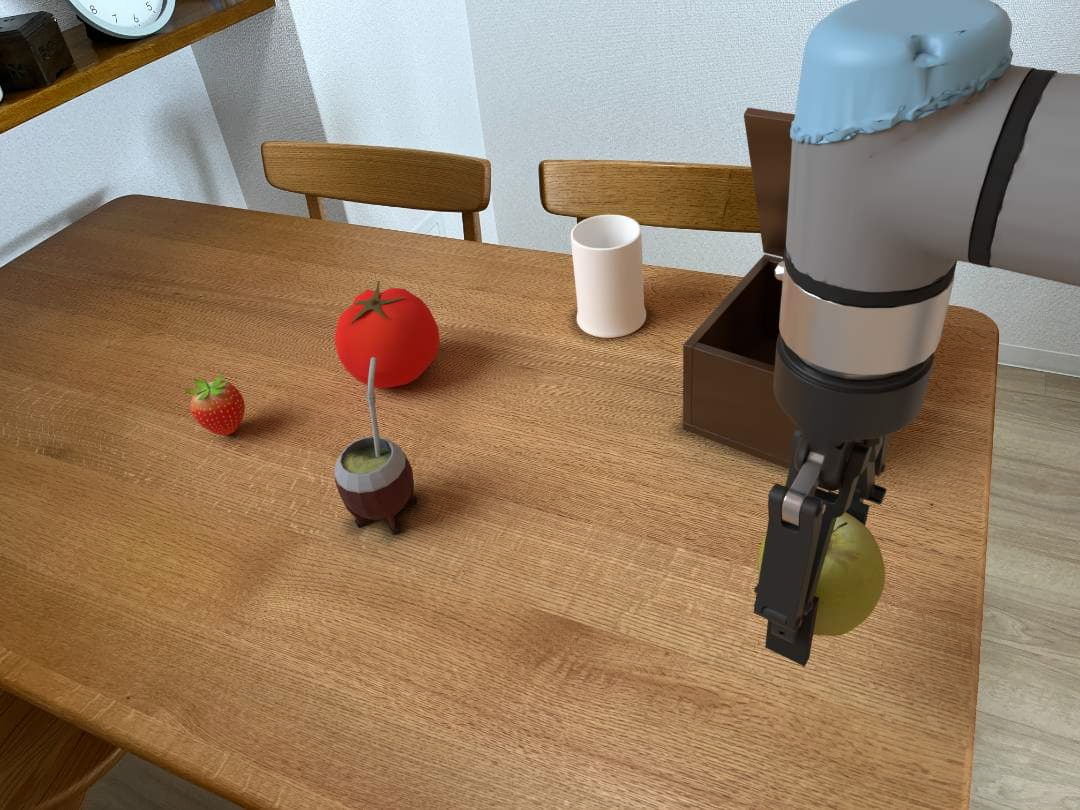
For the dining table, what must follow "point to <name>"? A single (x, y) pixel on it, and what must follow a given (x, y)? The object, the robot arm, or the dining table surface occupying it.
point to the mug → (608, 275)
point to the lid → (770, 173)
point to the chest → (739, 370)
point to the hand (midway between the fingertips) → (812, 605)
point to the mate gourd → (374, 474)
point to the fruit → (217, 406)
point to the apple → (847, 578)
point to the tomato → (387, 337)
